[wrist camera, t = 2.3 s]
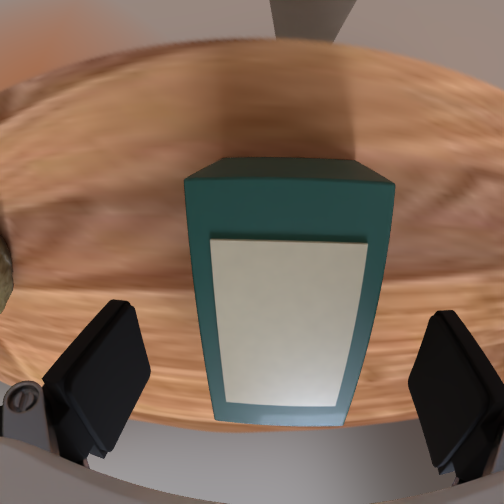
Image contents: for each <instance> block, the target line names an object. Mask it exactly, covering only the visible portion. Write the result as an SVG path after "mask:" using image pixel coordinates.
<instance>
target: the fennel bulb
mask: <svg viewBox="0 0 504 504" xmlns="http://www.w3.org/2000/svg"><path fill="white" fill-rule="evenodd" d="M12 272H13V271H12V262H11V255H10V252H9V250H8V246H7V245H6V243H5V241H4V240H3V238H2V236H1V235H0V314H1V312H2V311H3V310H4V308H5V306H6V303H7V300H8V299H9V297H10V295H11V293H12V291H13V285H14V284H13V277H12Z"/></svg>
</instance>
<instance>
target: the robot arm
mask: <svg viewBox="0 0 504 504" xmlns="http://www.w3.org/2000/svg"><path fill="white" fill-rule="evenodd" d="M150 373H151V369H150V365H149V361H148V358H147V354H146V350H145V347H144V343H143V339H142V335H141V331H140V328H139V323H138V319H137V315H136V311H135V308H134V307H133V306H131V305H130V303H129V302H128V301H123V300H114V299H113V300H110V301H109V302H108V303H107V304H106V305H105V307H104V308H103V309H102V310H101V311H100V312H99V313H98V314H97V315H96V316H95V317H94V319H93V320H92V321H91V322H90V323H89V324H88V325H87V326H86V327H85V329H84V330H83V331H82V332H81V333H80V334H79V335H78V336H77V338H76V339H75V340H74V341H73V342H72V343H71V344H70V346H69V347H68V348H67V349H66V350H65V351H64V353H63V354H62V355H61V356H60V357H59V358H58V360H57V361H56V362H55V363H54V364H53V366H52V367H51V368H50V369H49V370H48V372H47V373H46V374H45V375H44V377H43V378H42V380H43V381H44V383H45V384H44V385H43V387H41V386H40V385H39V384H38V383H36V382H34V381H22V382H19V383H16V384H15V385H13V386H12V387H11V388H10V389H9V390H8V391H7V392H6V394H5V396H4V399H3V405H2V406H0V504H226V503H218V502H212V501H205V500H200V499H194V498H189V497H184V496H179V495H175V494H170V493H166V492H162V491H158V490H154V489H150V488H146V487H143V486H139V485H136V484H132V483H129V482H126V481H123V480H120V479H117V478H114V477H111V476H108V475H105V474H102V473H99V472H96V471H94V470H91V469H90V468H89V464H88V461H87V456H88V455H89V453H90V454H92V455H95V456H98V457H100V458H103V459H104V458H105V456H106V454H107V452H111V451H112V450H113V449H114V447H115V445H116V442H117V441H118V438H119V436H120V434H121V432H122V430H123V428H124V426H125V424H126V422H127V420H128V418H129V416H130V414H131V412H132V411H133V409H134V407H135V405H136V403H137V401H138V399H139V397H140V395H141V393H142V391H143V389H144V387H145V385H146V383H147V381H148V379H149V377H150ZM408 387H409V390H410V393H411V396H412V399H413V402H414V405H415V408H416V411H417V414H418V417H419V420H420V423H421V426H422V430H423V433H424V436H425V439H426V443H427V446H428V449H429V453H430V457H431V460H432V464H433V466H434V467H437V468H438V471H439V475H441V474H445V473H449V472H453V471H454V470H455V473H456V478H455V480H454V482H453V484H452V486H451V487H449V488H445V489H441V490H438V491H434V492H430V493H426V494H421V495H417V496H413V497H407V498H403V499H397V500H392V501H386V502H379V503H371V504H504V384H503V382H502V381H501V379H500V377H499V376H498V374H497V372H496V371H495V369H494V368H493V366H492V365H491V363H490V361H489V360H488V358H487V357H486V355H485V354H484V352H483V351H482V349H481V348H480V346H479V345H478V343H477V342H476V340H475V339H474V338H473V336H472V335H471V333H470V332H469V330H468V329H467V328H466V326H465V325H464V323H463V322H462V321H461V319H460V318H459V317H458V315H457V314H456V313H455V312H454V311H453V310H444V311H437V312H436V313H435V314H434V316H431V317H430V319H429V322H428V326H427V329H426V332H425V335H424V338H423V341H422V344H421V347H420V349H419V352H418V355H417V358H416V360H415V363H414V366H413V368H412V371H411V373H410V376H409V379H408Z"/></svg>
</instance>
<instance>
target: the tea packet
mask: <svg viewBox="0 0 504 504" xmlns="http://www.w3.org/2000/svg"><path fill="white" fill-rule="evenodd" d="M184 191H185V204H186V215H187V226H188V237H189V247H190V256H191V265H192V274H193V283H194V291H195V299H196V306H197V314H198V321H199V328H200V335H201V342H202V348H203V355H204V361H205V367H206V373H207V379H208V385H209V391H210V396H211V402H212V407H213V413H214V418H215V420H217V421H226V422H235V423H246V424H259V425H277V426H342V425H344V422H345V419H346V416H347V414H348V411H349V408H350V405H351V402H352V399H353V395H354V392H355V389H356V386H357V383H358V379H359V376H360V372H361V369H362V365H363V362H364V358H365V355H366V351H367V347H368V343H369V339H370V335H371V331H372V327H373V323H374V319H375V314H376V310H377V305H378V300H379V295H380V291H381V285H382V280H383V275H384V269H385V263H386V257H387V251H388V245H389V238H390V231H391V223H392V215H393V206H394V196H395V183H393V182H391V181H390V180H388V179H387V178H385V177H383V176H382V175H380V174H378V173H376V172H375V171H373V170H371V169H370V168H368V167H366V166H364V165H362V164H361V163H359V162H357V161H355V160H340V159H320V158H288V157H236V158H222V159H220V160H218V161H216V162H214V163H213V164H211V165H209V166H207V167H205V168H203V169H201V170H200V171H198V172H196V173H194V174H192V175H190V176H189V177H187V178H185V179H184Z"/></svg>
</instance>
